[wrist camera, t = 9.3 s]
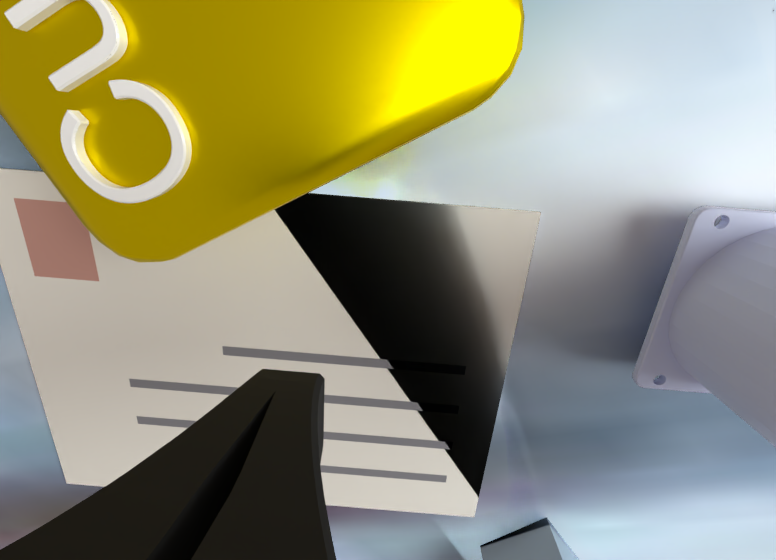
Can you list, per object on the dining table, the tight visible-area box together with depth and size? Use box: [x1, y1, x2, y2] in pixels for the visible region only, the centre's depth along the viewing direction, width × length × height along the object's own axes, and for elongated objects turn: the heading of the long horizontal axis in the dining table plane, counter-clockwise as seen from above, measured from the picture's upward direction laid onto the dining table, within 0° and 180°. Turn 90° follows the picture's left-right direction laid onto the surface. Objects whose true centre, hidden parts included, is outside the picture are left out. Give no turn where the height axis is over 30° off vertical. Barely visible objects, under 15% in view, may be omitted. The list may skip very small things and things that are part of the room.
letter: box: [0, 168, 541, 517], centre depth 20 cm, size 24×18×1 cm
